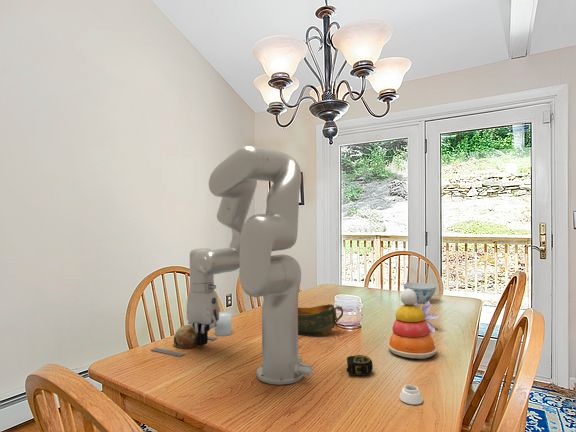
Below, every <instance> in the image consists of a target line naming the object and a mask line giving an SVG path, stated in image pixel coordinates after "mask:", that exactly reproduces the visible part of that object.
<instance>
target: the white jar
mask: <svg viewBox="0 0 576 432" xmlns="http://www.w3.org/2000/svg"><path fill="white" fill-rule="evenodd" d="M398 397H399V399H400V400H401V402H403V403H405V404H408V405H414V406H415V405H421V404H422V403H423V402H424V399H423V398H424V397H423V396H422V394H421V392H420V390H419V388H418V386H416V385H414V384H405V385H404V386H403V387H402V390H401V391H400V393H399V396H398Z"/></svg>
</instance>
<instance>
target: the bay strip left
mask: <svg viewBox="0 0 576 432" xmlns="http://www.w3.org/2000/svg"><path fill="white" fill-rule="evenodd" d="M150 351H151V352H155V353H160V354H164V355H168V356H172V357H173V356H175V357H178V358H181V357H183V356H185V353H182V352H178V351H173V350H168V349H164V348H163V349H162V348H159V347H154V348H153V349H150Z"/></svg>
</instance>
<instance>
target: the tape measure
mask: <svg viewBox="0 0 576 432" xmlns="http://www.w3.org/2000/svg"><path fill="white" fill-rule="evenodd" d="M346 365H347V368H346V372H347V373H348V375H350V376H351V375H357V376H366V375H369V374H371V373H372V372H373V369H374V367H373V360H372V359H371V358H370V357H369V356H367V355H362V354H361V355H360V354H358V355H351V356H347V357H346Z"/></svg>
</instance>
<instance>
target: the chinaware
mask: <svg viewBox="0 0 576 432" xmlns="http://www.w3.org/2000/svg"><path fill="white" fill-rule="evenodd" d="M403 289H404V290H405V289H412V290H413V291H414V292H415V293H416V296H417V301H416V302H417V303H418V304H423V303H424V304H425V303H426V302H428V301H429V300H430V299H431V298H432V297H433V296H434V295H435V293H436V289H437V285H435V284H432V283H427V282H425V283H424V282H405V283H403Z"/></svg>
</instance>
